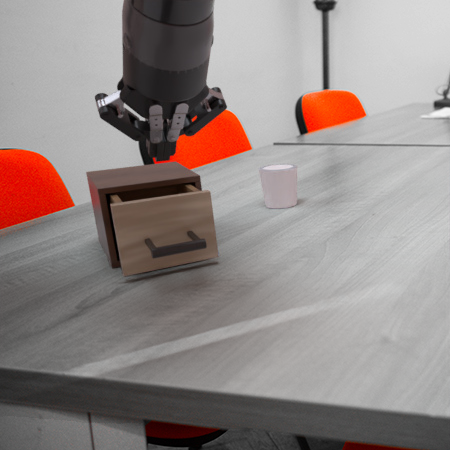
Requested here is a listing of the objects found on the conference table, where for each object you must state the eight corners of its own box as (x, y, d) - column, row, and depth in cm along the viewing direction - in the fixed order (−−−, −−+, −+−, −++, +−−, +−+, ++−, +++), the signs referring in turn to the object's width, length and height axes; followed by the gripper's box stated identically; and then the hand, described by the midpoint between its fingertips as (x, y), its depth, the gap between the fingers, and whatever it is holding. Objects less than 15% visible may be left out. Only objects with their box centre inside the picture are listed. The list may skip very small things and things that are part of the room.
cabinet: (209, 249, 81) (200, 175, 78) (112, 268, 74) (97, 188, 71) (185, 226, 93) (176, 161, 90) (99, 241, 86) (85, 171, 83)
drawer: (233, 270, 70) (224, 200, 67) (132, 292, 64) (118, 216, 61) (193, 233, 85) (185, 175, 83) (109, 248, 80) (98, 186, 77)
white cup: (308, 203, 105) (305, 165, 103) (278, 211, 100) (274, 172, 98) (284, 198, 109) (280, 162, 107) (254, 206, 104) (250, 168, 102)
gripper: (228, 10, 57) (209, 125, 70) (78, 8, 50) (89, 135, 63) (251, 66, 54) (227, 174, 67) (95, 71, 47) (103, 190, 60)
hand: (160, 155), depth 65 cm, fingers closed
